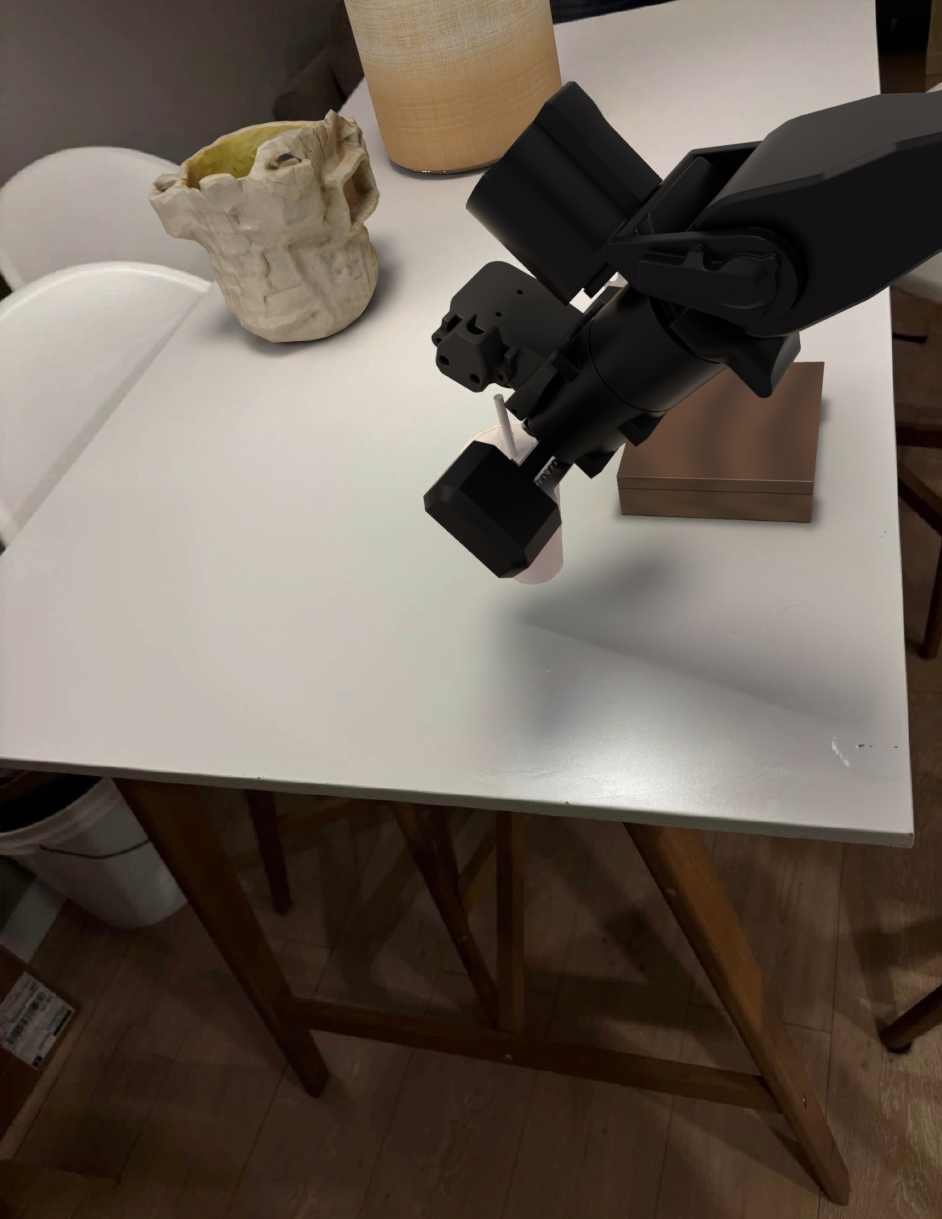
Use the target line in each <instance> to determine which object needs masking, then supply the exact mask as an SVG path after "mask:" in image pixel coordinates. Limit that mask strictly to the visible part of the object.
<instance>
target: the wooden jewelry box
mask: <svg viewBox="0 0 942 1219" xmlns="http://www.w3.org/2000/svg"><path fill="white" fill-rule="evenodd" d="M825 363H826V362H825V361H794V362H793V363H792V365H791V366H790V368H789V369H788V371H787V372H786V374H785V375H784V377H783V379H782V380H781V382H780V383H779V385H778V386H777V388H776V389H775V391H774V392H773V394H772V395H771V396H770V397H769V398H766V399H762V398H759V397H758V396H756V395H755V394H754V393H753V391H752V390H751V389H750V388H749V387H748V386H747V385H746V384H745V383H744V382H743V381H742V380H741V379H740V378H739V377H738V376H737V375H736V374H735V373H734V372H733V371H732V370H731V369H730V368H729V367H728V368H726V369H725V370H723V371H722V372H721V373H719V374H718V375H717V376H715V377H714V378H713V379H711V380H710V381H709V382H707V383H706V384H704V385H703V386H702V387H700V388H699V389H698V390H696V391H695V392H694V393H692V394H691V395H690V396H688V397H687V398H686V399H684V400H683V401H681V402H680V403H679V404H677V405H676V406H675V407H673V408H672V409H671V410H669V411H668V412H667V413H666V414H665V416H664V417H663V418H662V420H661V421H660V423H659V424H658V425H657V427H656V428H655V429H654V431H653V432H652V434H651V435H650V436H649V438H648V439H647V440H645V441H644V442H642V443H641V444H640V445H638V446H637V447H635V446H634V445H633V444H632V443H631V442H630V441H627V442H626V443H624V448H623V451H622V455H621V459H620V462H619V466H618V469H617V474H616V476H615V477H616V485H617V492H618V498H619V506H620V507H619V508H620V513H621V515H631V516H652V517H653V516H654V517H655V516H656V517H676V518H677V517H679V518H704V519H705V518H706V519H726V520H727V519H729V520H748V521H749V520H750V521H751V520H752V521H776V522H796V523H797V522H798V523H799V522H800V523H811V522H812V516H813V503H814V492H815V481H816V480H815V479H816V467H817V457H818V444H819V433H820V422H821V412H822V398H823V388H824V387H823V385H824V376H825V375H824V374H825V365H826V364H825Z"/></svg>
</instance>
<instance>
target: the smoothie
mask: <svg viewBox="0 0 942 1219" xmlns="http://www.w3.org/2000/svg"><path fill="white" fill-rule="evenodd" d="M492 398H493V402H494V407H495V410H496V413H497V414H496V415H497V418H498V421H499V424H495V425H492V426H489V427H488V428H486V429H484V430H482V431H480V432H478V433H477V434H475V435H474V436H473V437H471V438H470V439H469V440H468V441H467V442H466V443H465V444H464V445H463V446H462V448H461V450H460V451H459V453H458V456H459V455H460V454H461V453H462V452H463V451H464V450H465V448H466V447H467V446H468V445H469V444H470V443H471V442H472V441H473V440H476V441H480V442H484V443H489V444H493V445H495V446H496V447H497V448H499V449H500V450H501V451H502V452H503V453H504V454H505V455H506V456H507V457H508V458H509V459H511V458H512V459H513V460H514V461H516V462H517V463H518V464H519V462H520V461H521V460H522V459H523V457H524V456H525V455H526V454H527V453H528V451H529V450H530V449H531V448H532V446H533V445H534V444H535V443H536V442H537V440H536V439H535V437H534V438H533V437H531V436H529V435H528V434H527V433H526V432H525V431H524V430H523V429H522V428H521V424H522V422H523V421H524V420H523V421H519V420H515V421H510V417H509V414H508V409H507V408H505V407H504V406H503V404H504V403H505V402H506V401H505V398H504V394H502V393H496V394H494V396H493V397H492ZM458 456H457V457H458ZM553 459H555V457H553V456H552V458H551V459H550V460H549V461H548V463H547V464H546V465H545V466H544V468H543V469H542V470H541V471H540V473H539V474H538V475H537V476H536V478H535V480H537V479H538V478H540V475H541V474H542V473H544V472H543V471H544V470H545V469H546V468H548V467H547V466H548V465H549V464H550V463H551V461H552V460H553ZM551 464H552V463H551ZM537 485H538V484H537ZM554 492H555V495H556V497H557V501H558V503H557V504H558V506H559V511H560V515H561V516H562V510H561V494H560V493H561V491H560V483H559V484H558V485H557V487H556V488H555V490H554ZM562 528H563V527H562V524H561V525H560V527H559V528H558V529H557V531H556V532H555V533H554V535H553V536H552V537H551V539H550V540H549V541H548V543H547V544H546V545H545V547H544V548H543V549H542V551H541V552H540V553H539V555H538V556H537V557H536V559H535V560H534V561H533V563H532V564H531V565H530V567H529V568H527V569H526V570H524V571H523V572H521V573H519V574H518V575H516V576H515V577H513V578H512V579H514V580H515V581H517V582H518V583H521V584H524V585H532V586H533V585H541V584H544V583H546V582H549V581H551V580H552V579H554V578H555V577H556V576H557V575H558V574H559V573H560V572H561V570H562V568H563V565H564V548H563V529H562Z"/></svg>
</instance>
